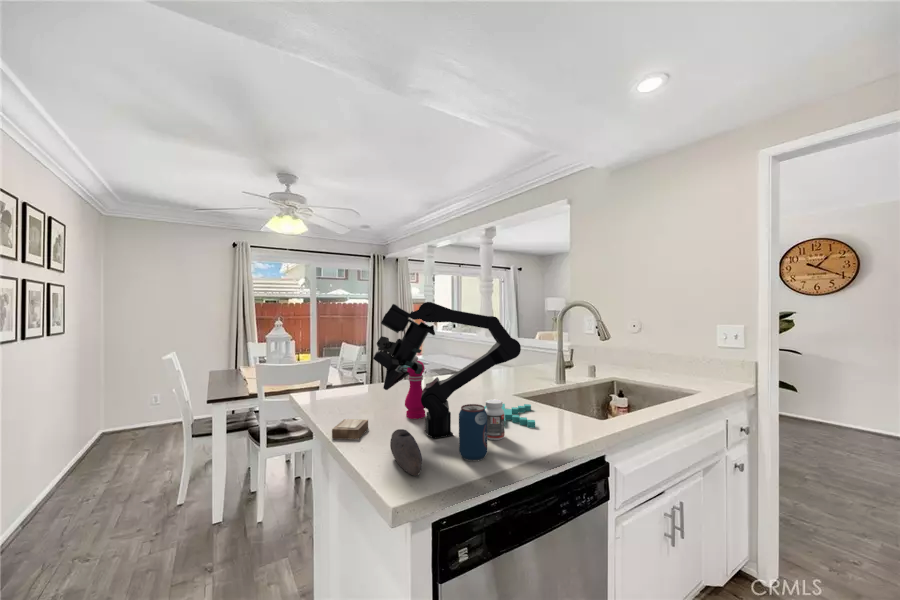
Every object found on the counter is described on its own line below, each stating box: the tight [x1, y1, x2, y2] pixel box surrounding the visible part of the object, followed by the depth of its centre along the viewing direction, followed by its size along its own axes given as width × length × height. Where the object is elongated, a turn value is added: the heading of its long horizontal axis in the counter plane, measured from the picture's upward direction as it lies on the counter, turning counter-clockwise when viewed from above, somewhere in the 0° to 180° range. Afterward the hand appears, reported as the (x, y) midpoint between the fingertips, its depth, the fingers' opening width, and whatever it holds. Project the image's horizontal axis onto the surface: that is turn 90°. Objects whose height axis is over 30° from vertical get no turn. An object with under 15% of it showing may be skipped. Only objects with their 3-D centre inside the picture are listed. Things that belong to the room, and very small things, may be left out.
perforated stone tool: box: [390, 428, 423, 477], centre depth 87 cm, size 15×5×7 cm, turn 22°
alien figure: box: [483, 403, 536, 429], centre depth 125 cm, size 20×2×20 cm
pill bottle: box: [485, 398, 506, 441], centre depth 106 cm, size 6×6×10 cm
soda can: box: [458, 403, 488, 462], centre depth 93 cm, size 7×7×12 cm
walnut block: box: [331, 418, 369, 440], centre depth 110 cm, size 3×9×8 cm
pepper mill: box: [404, 355, 426, 420], centre depth 126 cm, size 7×7×20 cm
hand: (385, 389), depth 108 cm, fingers closed
